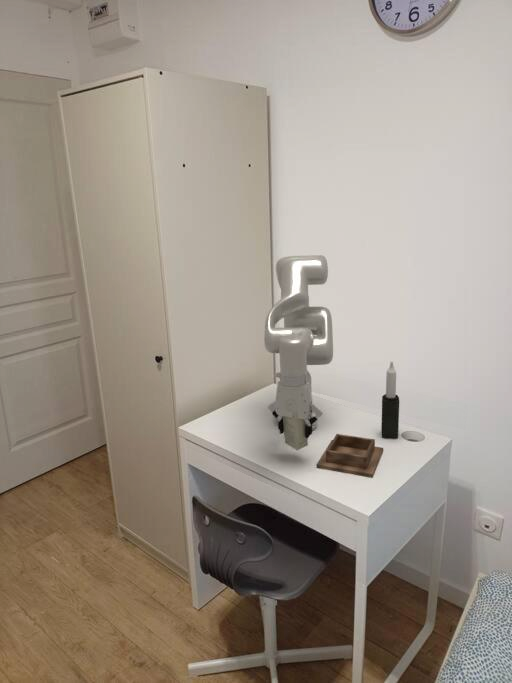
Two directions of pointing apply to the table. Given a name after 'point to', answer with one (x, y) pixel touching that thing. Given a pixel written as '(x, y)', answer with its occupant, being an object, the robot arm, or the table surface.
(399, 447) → the table surface
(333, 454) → the tray
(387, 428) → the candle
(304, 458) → the table surface
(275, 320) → the robot arm
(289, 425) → the skincare box
